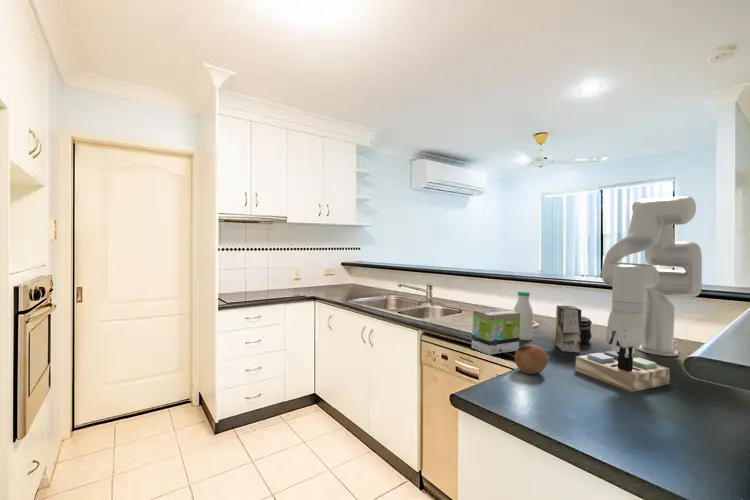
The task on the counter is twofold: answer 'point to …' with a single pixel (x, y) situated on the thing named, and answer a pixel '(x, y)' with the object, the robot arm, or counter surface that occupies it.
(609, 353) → the key charcoal
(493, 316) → the tea box
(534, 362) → the onion
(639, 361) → the key sage
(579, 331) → the coffee box
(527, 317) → the milk bottle
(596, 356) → the key pale blue
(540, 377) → the counter surface
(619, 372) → the wooden puzzle board
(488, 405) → the counter surface
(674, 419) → the counter surface
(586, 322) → the container
